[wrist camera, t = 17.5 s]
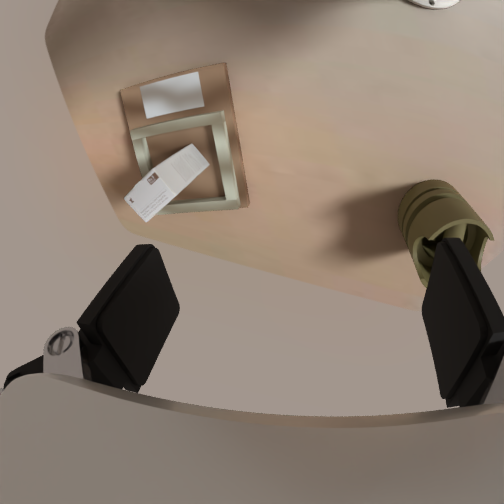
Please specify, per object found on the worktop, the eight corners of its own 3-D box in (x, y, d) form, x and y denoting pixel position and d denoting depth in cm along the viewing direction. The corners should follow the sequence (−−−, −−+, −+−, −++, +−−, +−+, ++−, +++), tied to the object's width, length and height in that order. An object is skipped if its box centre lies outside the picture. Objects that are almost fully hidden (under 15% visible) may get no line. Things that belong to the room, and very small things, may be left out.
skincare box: (183, 186, 44) (146, 227, 35) (164, 165, 43) (121, 199, 33) (212, 163, 42) (178, 199, 32) (191, 139, 40) (151, 168, 30)
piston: (504, 220, 27) (480, 293, 33) (466, 181, 36) (454, 245, 42) (426, 217, 29) (410, 296, 35) (400, 178, 39) (394, 245, 45)
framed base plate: (125, 88, 38) (114, 91, 36) (225, 62, 34) (219, 62, 32) (157, 209, 50) (149, 218, 47) (249, 203, 46) (245, 212, 43)
